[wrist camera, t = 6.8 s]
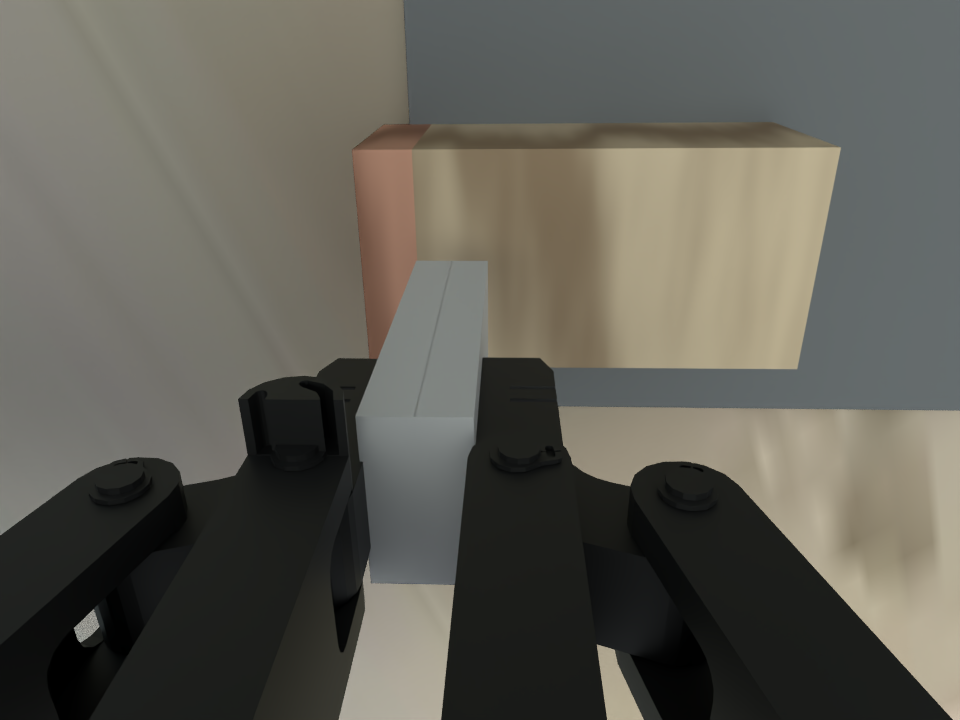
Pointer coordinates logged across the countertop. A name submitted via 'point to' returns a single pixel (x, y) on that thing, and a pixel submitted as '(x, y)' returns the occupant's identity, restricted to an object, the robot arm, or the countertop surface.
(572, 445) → the countertop surface
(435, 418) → the robot arm
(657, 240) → the oak block
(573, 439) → the countertop surface
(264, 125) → the countertop surface
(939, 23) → the mat
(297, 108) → the countertop surface
